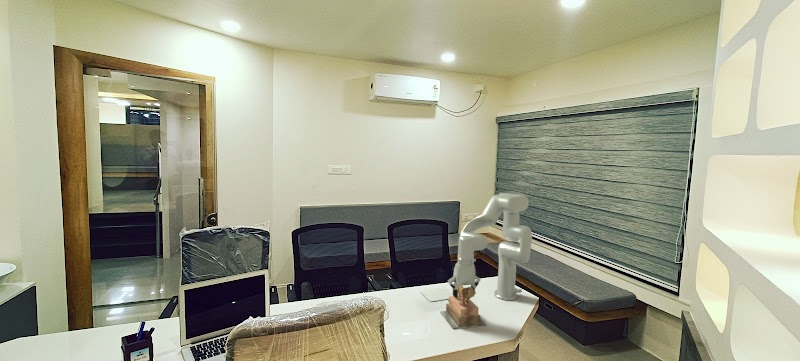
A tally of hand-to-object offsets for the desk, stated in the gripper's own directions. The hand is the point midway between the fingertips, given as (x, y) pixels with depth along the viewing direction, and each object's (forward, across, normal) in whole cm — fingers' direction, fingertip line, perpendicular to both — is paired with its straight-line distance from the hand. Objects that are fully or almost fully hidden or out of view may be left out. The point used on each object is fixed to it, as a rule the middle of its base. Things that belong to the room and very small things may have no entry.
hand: (463, 296), depth 158 cm
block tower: (+12, 0, 0) cm, 12 cm away
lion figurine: (+3, -1, -1) cm, 3 cm away
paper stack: (+12, +6, -23) cm, 26 cm away
